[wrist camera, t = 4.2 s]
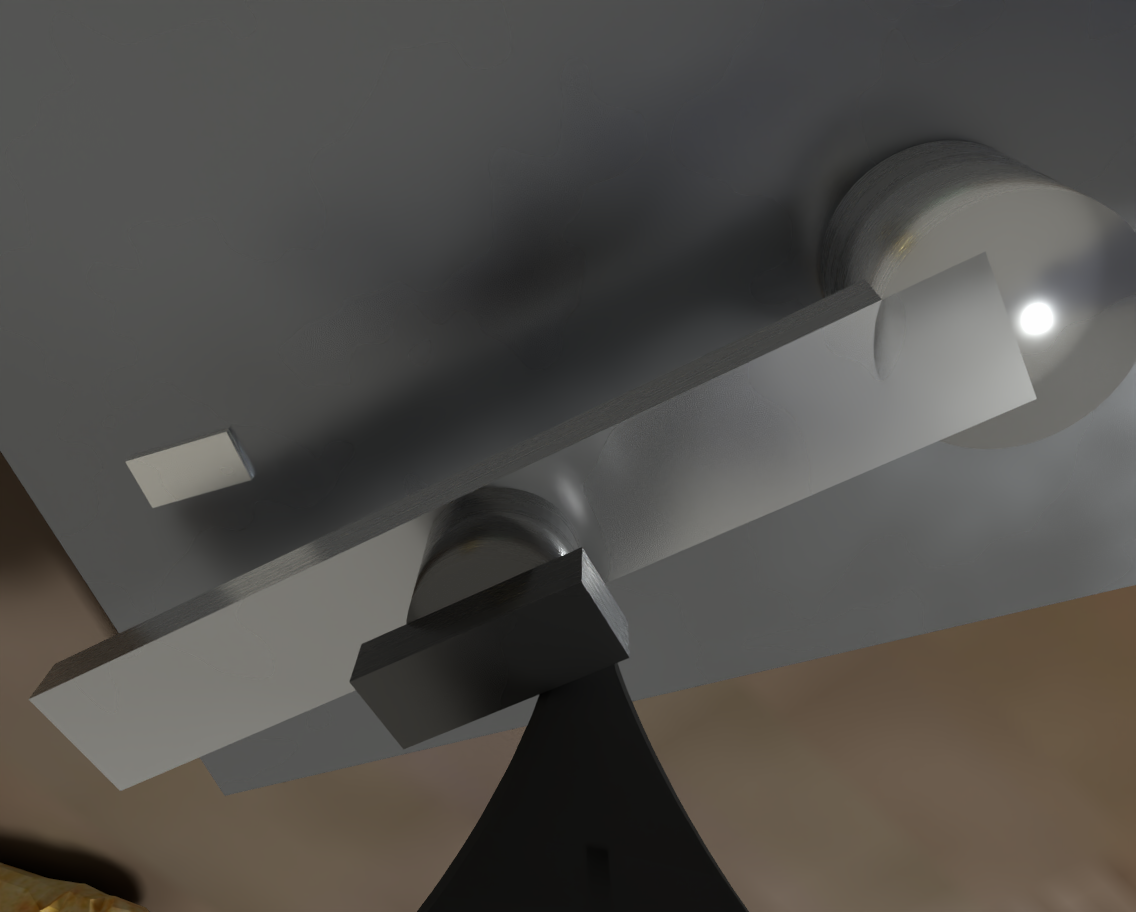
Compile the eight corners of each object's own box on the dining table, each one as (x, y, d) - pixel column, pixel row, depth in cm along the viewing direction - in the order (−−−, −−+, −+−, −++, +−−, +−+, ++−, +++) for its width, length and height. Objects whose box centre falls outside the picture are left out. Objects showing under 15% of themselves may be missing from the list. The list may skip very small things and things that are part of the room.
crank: (1009, 96, 12) (1247, 182, 7) (1072, 299, 13) (1310, 474, 8) (94, 556, 15) (-100, 797, 11) (209, 686, 16) (74, 949, 12)
